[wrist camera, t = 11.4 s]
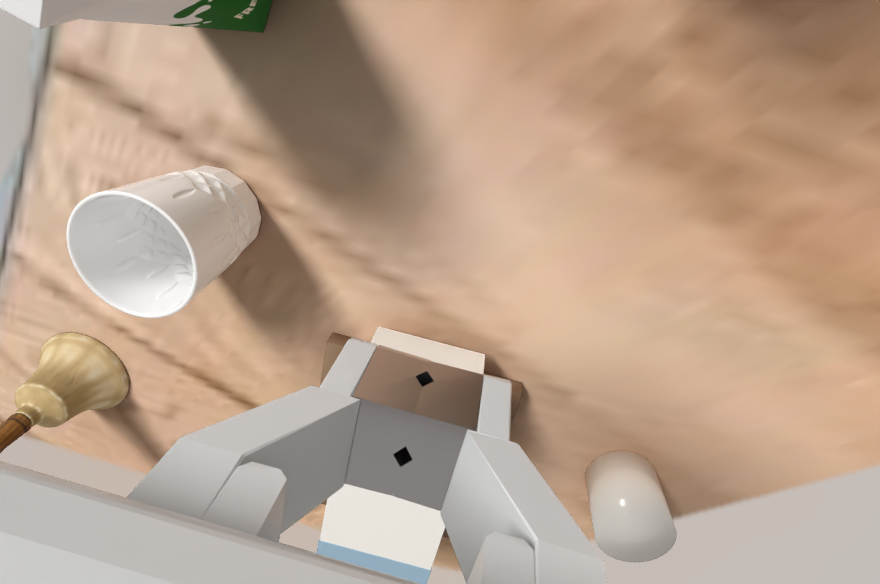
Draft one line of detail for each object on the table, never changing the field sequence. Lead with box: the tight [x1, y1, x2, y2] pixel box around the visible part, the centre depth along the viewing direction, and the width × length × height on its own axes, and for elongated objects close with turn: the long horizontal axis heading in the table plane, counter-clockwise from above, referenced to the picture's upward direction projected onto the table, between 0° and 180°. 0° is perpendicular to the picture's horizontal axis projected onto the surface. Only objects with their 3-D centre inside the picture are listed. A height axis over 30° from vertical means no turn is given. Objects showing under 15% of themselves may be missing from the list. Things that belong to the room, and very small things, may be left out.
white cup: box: [67, 165, 261, 318], centre depth 34 cm, size 8×8×10 cm
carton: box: [317, 326, 485, 584], centre depth 40 cm, size 9×9×18 cm
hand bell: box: [0, 332, 129, 453], centre depth 40 cm, size 8×8×16 cm
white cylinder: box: [585, 451, 676, 562], centre depth 42 cm, size 6×6×6 cm
